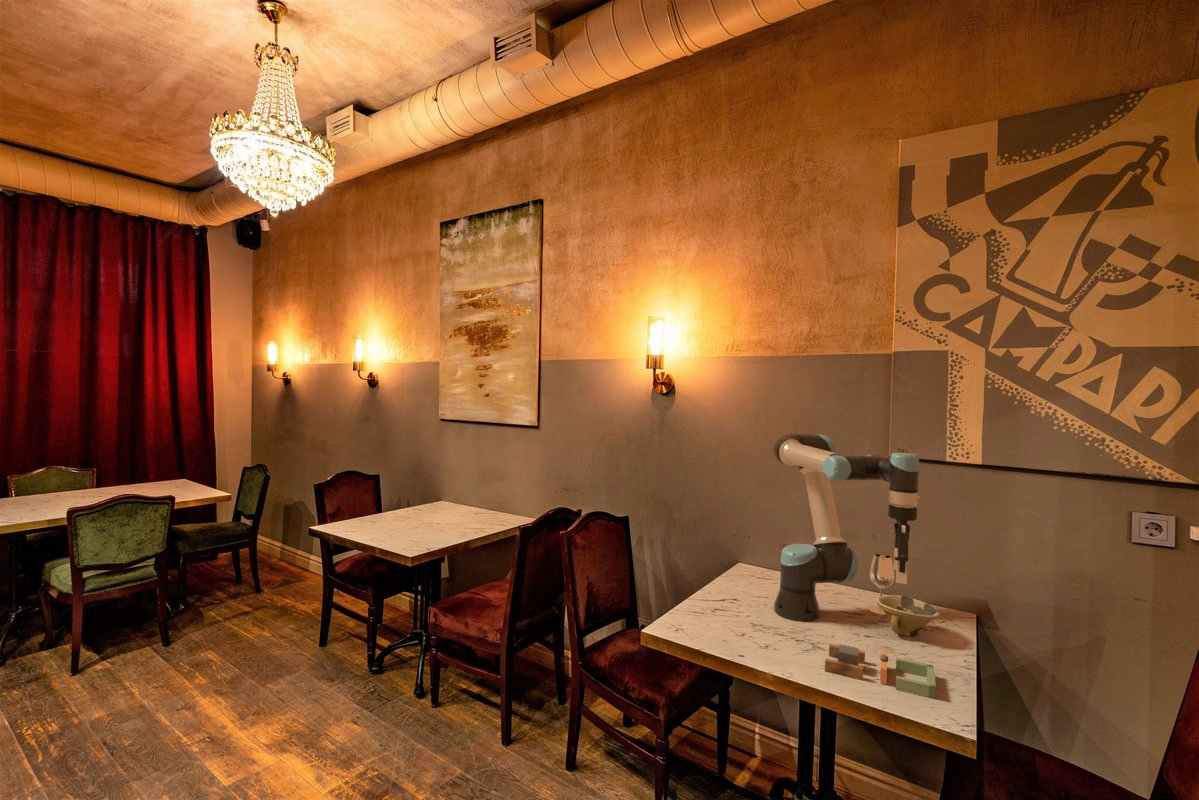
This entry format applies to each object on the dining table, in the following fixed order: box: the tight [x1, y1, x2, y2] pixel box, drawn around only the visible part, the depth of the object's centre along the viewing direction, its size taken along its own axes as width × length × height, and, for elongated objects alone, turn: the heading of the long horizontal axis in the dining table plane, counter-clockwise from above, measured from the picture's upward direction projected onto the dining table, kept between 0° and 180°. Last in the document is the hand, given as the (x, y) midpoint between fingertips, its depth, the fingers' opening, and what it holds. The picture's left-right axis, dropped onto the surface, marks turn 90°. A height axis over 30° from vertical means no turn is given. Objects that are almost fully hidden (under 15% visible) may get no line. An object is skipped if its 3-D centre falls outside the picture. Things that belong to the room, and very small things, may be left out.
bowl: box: [875, 594, 941, 638], centre depth 186 cm, size 18×18×10 cm
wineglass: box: [868, 553, 895, 616], centre depth 204 cm, size 8×8×20 cm
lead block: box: [837, 644, 860, 666], centre depth 161 cm, size 5×5×5 cm
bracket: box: [895, 657, 937, 700], centre depth 153 cm, size 9×14×3 cm, turn 152°
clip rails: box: [824, 643, 866, 681], centre depth 161 cm, size 10×12×3 cm
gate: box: [879, 651, 889, 685], centre depth 157 cm, size 2×11×5 cm, turn 152°
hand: (900, 576), depth 170 cm, fingers open, 13 cm apart
